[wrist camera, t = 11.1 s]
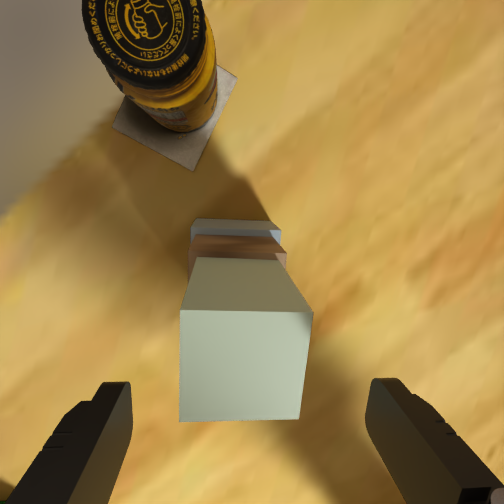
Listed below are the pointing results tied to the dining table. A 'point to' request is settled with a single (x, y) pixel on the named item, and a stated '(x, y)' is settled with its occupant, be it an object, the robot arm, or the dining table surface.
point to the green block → (242, 342)
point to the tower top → (234, 248)
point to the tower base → (235, 228)
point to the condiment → (161, 72)
